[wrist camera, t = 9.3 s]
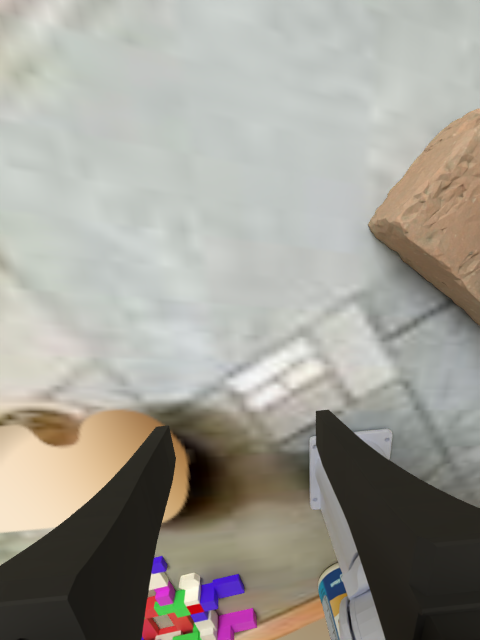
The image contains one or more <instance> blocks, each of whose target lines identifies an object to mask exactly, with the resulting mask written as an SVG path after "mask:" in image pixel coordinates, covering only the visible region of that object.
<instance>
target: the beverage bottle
mask: <svg viewBox="0 0 480 640" xmlns="http://www.w3.org/2000/svg"><path fill="white" fill-rule="evenodd" d="M342 576H343V574H342V571H341V569H340V567H339V563H336V564H334V565H332V566H330V567H329V568H328V569H326V570H325V571H324V572H323V574H322V575H321V577H320V579H319V582H318V591H319V595H320V599H321V603H322V605H323V610H324V614H325V618H326V622H327V626H328V630H329V634H330V638H331V640H341V638H340V631H339V608H340V603H341V600H342V599H343V598H344V597H346V596H347V592H346V589H345V586H344V583H343V580H342Z"/></svg>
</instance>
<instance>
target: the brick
mask: <svg viewBox="0 0 480 640" xmlns="http://www.w3.org/2000/svg"><path fill="white" fill-rule="evenodd" d="M368 225H369V227H370V230H371V232H373V233H374V235H375V237H376V238H377V239H379V240H380V241H382V242H383V243H384V244H385V245H387V246H388V247H389V248H390V249H392V250H394V251H396V252H398V253H399V255H400V257H401V259H402V260H403V262H405V263H407V264H408V265H410V266H411V267H412V268H413V269H414V270H416V271H417V272H418V273H419V274H421V275H422V276H423V277H424V278H425V279H426V280H427V281H429V282H431V283H433V285H434V286H435V287H436V288H437V289H439V290H440V291H441V292H443V293H444V294H445V295H447V296H448V297H449V298H451V299H452V300H453V302H454V303H455V304H456V305H458V306H460V307H461V308H463V309H464V310H465V312H466V313H467V314H468V315H469V316H470V317H471V318H472V319H473V320H474V321H475V322H476V323H477V324H478V325H479V326H480V109H476V110H474V111H471V112H469V113H467V114H466V115H464V116H463V117H462V118H460V119H457V120H456V121H454V122H452V123H450V124H449V125H448V126H447V127H446V128H444V129H443V130H442V131H441V132H440V133H439V134H438V135H437V136H436V137H435V138H434V139H433V140H432V141H431V142H430V143H429V144H428V146H427V147H426V148H425V150H424V151H423V152H422V154H421V155H420V156H419V157H418V158H417V159H416V160H415V161H414V162H413V164H412V165H411V166H410V168H409V169H408V171H407V172H406V174H405V175H404V176H403V178H402V179H401V180H400V181H399V182H398V183H397V184H396V185H395V186H394V187H393V188H392V189H391V190H390V191H389V193H388V197H387V198H386V199H385V201H384V202H383V204H382V205H381V206H380V207H378V208H377V210H376V212H375V215H374V216H373V217H372V218H371V220H370V222H369V224H368Z"/></svg>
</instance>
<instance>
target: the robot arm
mask: <svg viewBox="0 0 480 640" xmlns="http://www.w3.org/2000/svg"><path fill="white" fill-rule="evenodd" d="M392 436H393V434H392V432H391V431H390V430H389V429H379V430H369V431H359V432H352V431H351V430H350V429H349V428H348V427H347V426H346V425H345V424H343V423H342V422H341V421H340V420H339V419H338V418H337V417H336V416H335V415H334V414H333V413H332V412H330V411H329V410H321V411H316V436H312V437H311V438H310V440H309V471H310V506H311V508H312V509H313V510H317V509H321V512H322V515H323V518H324V521H325V524H326V527H327V530H328V533H329V536H330V539H331V542H332V545H333V548H334V551H335V554H336V557H337V560H338V563H339V567H340V569H341V571H342V574H343V576H342V580H343V583H344V586H345V589H346V592H347V596H346V597H344V598H343V599H342V600H341V603H340V608H339V631H340V638H341V640H480V508H477V507H475V506H473V505H470V504H468V503H466V502H464V501H461V500H459V499H457V498H455V497H453V496H451V495H449V494H447V493H445V492H443V491H441V490H439V489H437V488H435V487H433V486H431V485H429V484H427V483H426V482H424V481H422V480H420V479H419V478H417V477H415V476H413V475H412V474H410V473H408V472H407V471H405V470H403V469H402V468H400V467H399V466H397V465H396V464H394V463H393V462H391V461H390V453H391V444H392ZM385 438H386V439H385ZM314 445H316V446H314ZM175 461H176V457H175V452H174V447H173V443H172V438H171V433H170V429H169V426H159V427H156V428H155V429H154V431H152V433H151V434H150V435H149V436H148V438H147V439H146V440H145V441H144V443H143V444H142V445H141V446H140V448H139V449H138V450H137V451H136V452H135V453H134V455H133V456H132V457H131V458H130V459H129V461H128V462H127V463H126V464H125V465H124V466H123V467H122V468H121V469H120V471H119V472H118V473H117V474H116V475H115V476H114V477H113V478H112V479H111V480H110V481H109V482H108V483H107V484H106V485H105V486H104V487H103V488H102V489H101V490H100V491H99V492H98V493H97V494H96V495H95V496H94V497H93V498H91V499H90V500H89V501H88V502H87V503H86V504H85V505H84V506H82V507H81V508H80V509H78V510H77V511H76V512H75V513H74V514H73V515H71V516H70V517H69V518H68V519H66V520H65V521H64V522H63V523H61V524H60V525H59V526H57V527H56V528H55V529H53V530H52V531H51V532H49V533H48V534H47V535H45V536H44V537H42V538H41V539H40V540H38V541H37V542H35V543H34V544H32V545H31V546H29V547H28V548H26V549H25V550H23V551H22V552H20V553H19V554H17V555H16V556H14V557H13V558H11V559H10V560H8V561H7V562H5V563H4V564H2V565H1V566H0V640H141V639H142V632H143V625H144V618H145V611H146V604H147V597H148V591H149V585H150V579H151V572H152V566H153V561H154V555H155V549H156V544H157V539H158V535H159V531H160V527H161V523H162V520H163V516H164V512H165V507H166V505H167V501H168V497H169V493H170V489H171V485H172V481H173V475H174V468H175Z"/></svg>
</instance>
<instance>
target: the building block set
mask: <svg viewBox="0 0 480 640" xmlns="http://www.w3.org/2000/svg"><path fill="white" fill-rule="evenodd" d="M166 570H167V564H166V562H165V560H164V558H163V557H162V556H160V557H156V558H154V561H153V566H152V572H151V579H150V585H149V590H152V589H154V590H155V592H156V596H153V597H149V598H147V604H146V611H145V618H144V625H143V632H142V639H141V640H234V633H235V632H239V631H244V630H248V629H253V628H257V621H256V614H255V612H254V610H253V608H251V609H247V610H242V611H238V612H234V613H229V614H225V615H220V616H218V615H217V613H216V611H215V610H214V609H218V598H219V599H220V598H224V597H229V596H233V595H237V594H242V593H244V585H243V583H242V581H241V579H240V577H239V574H237V575H232V576H228V577H224V578H219V579H215V580H213V583H209V584H205V585H202V586H201V584H200V576H199V575H197V574H196V573H191V574H187V575H183V576H181V578H180V581H179V588H181V589H183V590H179V591H175V589H174V588H173V586H172V584H171V583H170V581H169V579H168V578H167V576H166V574H165V573H164V572H165V571H166ZM165 614H168V616H169V617H170V619H171V621H172V622H173V624H174V625H175V626H172V627H167V628H163V629H159V628H158V626H157V625H156V623H155V622H154V620H153V619H152V617H156V616H161V615H165Z"/></svg>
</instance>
